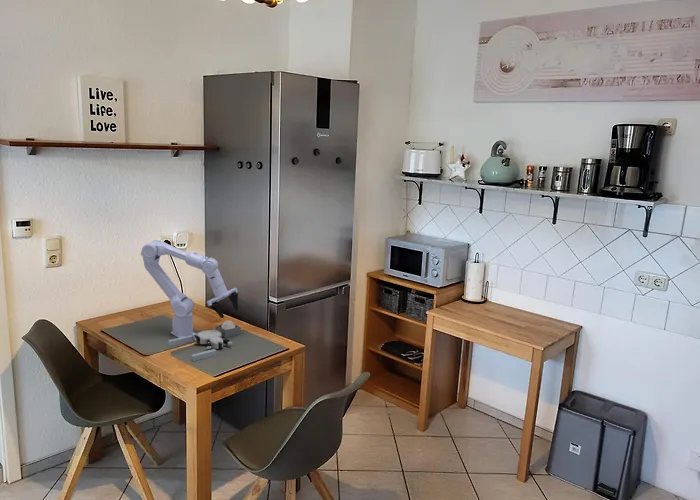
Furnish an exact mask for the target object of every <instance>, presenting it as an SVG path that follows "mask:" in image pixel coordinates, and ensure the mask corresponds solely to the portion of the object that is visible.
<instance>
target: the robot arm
mask: <svg viewBox="0 0 700 500" xmlns="http://www.w3.org/2000/svg"><path fill="white" fill-rule="evenodd" d="M140 255H141V256H142V261H143V265H144V268H145V270H146V271H147V273H148V274H150V276H151V277H152V279H153V280H154V281H155V283H156V284H157V285H158V286H159V287H160V289H161V290H162V291H163V293H164V294H165V296H167V298H168V299H169V300H170V306H171V308H172V311H173V313H174V314H173V316H172V318H171V320H172V331H170V334H172V335H174V336H175V337H176V338H180V337H185V336H189V335H190V336H192V334H193V336H194V337H195V336H196V334H197V333H196V332H194V321H193V319H194V315H193V309H194V308H195V302H194V301H193V299H191V298H189V297H188V296H187V295H186V294H185V293H182V292H181V291H180V290H179V289H178V287H177V286H176V285H175V283H174V282H173V280H172V279H171V278H170V277H169V275H167V273H166V271H164V269H163V268H162V267H161V265H160V259H161V256H165V255H168V256H171V257H174V258H176V259H179V260H183V261H184V262H185V264H186V265H188V266H191V267H193V268H196V269H198V270H201V272H202V273H203V274H205V275H206V278H207V280H208V283H209V285H210V287H211V290H212V293H213V294H214V297H213V298H211V299H209V300H207V301H206V304H207V306H208V307H210V309H212V310H213V311H214V312H215V313H217V315H218V316H219V318H220V319H224V318H225V316H224V313H223V311H222V308H221V303H220V302H219V301H221V300H224V299H225V298H228V299H229V300H230V302H231V304H232V307H233V309H234V311H239V305H238V304H239V303H238V298H239V294H238V292H239V290H238V288H237V287H233V288H232V289H229V290H228V289H227V286H226V283H225V281H224V279H223V277H222V274H221V273H220V270H219V262H218V260H217V259H215V258H214V257H209V256H203V255H201V254H198V252H197V251H191V252H189V253H188V252H187V251H184V250H182V249H179V248H177V247H175V246H173V245H170V244H168V243H166V242H164V241H161V240H158V239H155V240H153V241H151V242H149V243H146V244H144V245H143V246H142V248H141V252H140ZM193 336H192V337H193Z"/></svg>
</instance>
